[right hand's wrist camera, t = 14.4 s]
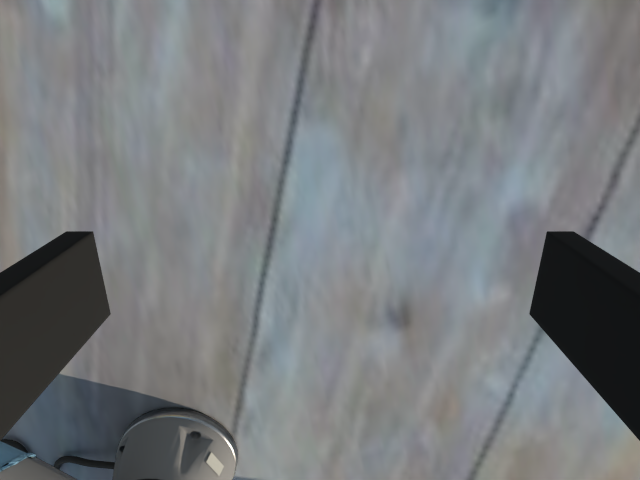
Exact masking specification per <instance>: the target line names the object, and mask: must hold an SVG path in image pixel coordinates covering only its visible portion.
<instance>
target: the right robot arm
mask: <svg viewBox="0 0 640 480" xmlns="http://www.w3.org/2000/svg"><path fill="white" fill-rule="evenodd" d="M109 315H110V309H109V304H108V300H107V295H106V290H105V286H104V281H103V276H102V272H101V267H100V262H99V257H98V253H97V248H96V243H95V239H94V234H93V232H65V233H63V234H62V235H60V236H59V237H57V238H55V239H54V240H52V241H51V242H49V243H47V244H46V245H44V246H43V247H41V248H39V249H38V250H36V251H35V252H33V253H31V254H30V255H28V256H27V257H25V258H23V259H22V260H20V261H18V262H17V263H15V264H14V265H12V266H10V267H9V268H7V269H6V270H4V271H2V272H1V273H0V480H77V479H75V478H73V477H71V476H70V475H68V474H66V473H64V472H62V471H60V470H59V468H60V466H61V464H62V463H67V462H70V463H75V464H79V465H83V466H89V467H97V468H108V469H114V473H113V480H232V479H233V477H234V474H235V470H236V466H237V460H238V451H237V447H236V444H235V441H234V440H233V438H232V436H231V435H230V433H229V432H228V431H227V430H226V429H225V428H224V427H223V426H222V425H221V424H220V423H218V422H217V421H215V420H214V419H212V418H210V417H209V416H206V415H204V414H202V413H199V412H196V411H192V410H188V409H181V408H165V409H158V410H154V411H151V412H148V413H146V414H144V415H142V416H140V417H138V418H137V419H136V420H134V421H133V422H132V423H131V424H130V426H129V427H128V428H127V430H126V431H125V433H124V435H123V437H122V439H121V441H120V443H119V446H118V449H117V453H116V460H115V462H104V461H94V460H88V459H84V458H80V457H75V456H64V457H61V458H59V459H58V460H57V461H56V462H55V464H54V467H53V466H51V465H49V464H48V463H46V462H44V461H42V460H40V459H38V458H36V455H35V454H33V453H28V451H27V450H26V449H25V447H23V446H22V445H21V444H20V443H18V442H16V441H13V440H6V439H3V440H1V439H2V438H3V437H4V436H5V435H6V433H7V432H8V431H9V430H10V429H11V428H12V427H13V425H14V424H15V423H16V422H17V421H18V420H19V419H20V417H21V416H22V415H23V414H24V413H25V412H26V411H27V409H28V408H29V407H30V406H31V405H32V404H33V402H34V401H35V400H36V399H37V398H38V397H39V396H40V394H41V393H42V392H43V391H44V390H45V389H46V388H47V386H48V385H49V384H50V383H51V382H52V381H53V380H54V378H55V377H56V376H57V375H58V374H59V373H60V371H61V370H62V369H63V368H64V367H65V366H66V365H67V363H68V362H69V361H70V360H71V359H72V358H73V357H74V355H75V354H76V353H77V352H78V351H79V350H80V349H81V347H82V346H83V345H84V344H85V343H86V342H87V340H88V339H89V338H90V337H91V336H92V335H93V334H94V332H95V331H96V330H97V329H98V328H99V327H100V326H101V324H102V323H103V322H104V321H105V320H106V319H107V318H108V316H109ZM530 315H531V316H532V318H533V319H534V320H535V321H536V322H537V323H538V324H539V326H540V327H541V328H542V329H543V330H544V331H545V332H546V334H547V335H548V336H549V337H550V338H551V339H552V340H553V342H554V343H555V344H556V345H557V346H558V347H559V349H560V350H561V351H562V352H563V353H564V354H565V355H566V357H567V358H568V359H569V360H570V361H571V362H572V363H573V365H574V366H575V367H576V368H577V369H578V370H579V371H580V373H581V374H582V375H583V376H584V377H585V378H586V380H587V381H588V382H589V383H590V384H591V385H592V386H593V388H594V389H595V390H596V391H597V392H598V393H599V394H600V396H601V397H602V398H603V399H604V400H605V401H606V402H607V404H608V405H609V406H610V407H611V408H612V409H613V411H614V412H615V413H616V414H617V415H618V416H619V417H620V419H621V420H622V421H623V422H624V423H625V424H626V425H627V427H628V428H629V429H630V430H631V431H632V432H633V433H634V435H635V436H636V437H637V438H638V439H639V440H640V273H639V272H638V271H636V270H634V269H633V268H631V267H630V266H628V265H626V264H625V263H623V262H622V261H620V260H618V259H617V258H615V257H613V256H612V255H610V254H609V253H607V252H605V251H604V250H602V249H601V248H599V247H597V246H596V245H594V244H593V243H591V242H589V241H588V240H586V239H585V238H583V237H581V236H580V235H578V234H577V233H575V232H547V234H546V239H545V243H544V248H543V253H542V257H541V262H540V267H539V272H538V276H537V281H536V286H535V290H534V295H533V300H532V304H531V309H530Z"/></svg>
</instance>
